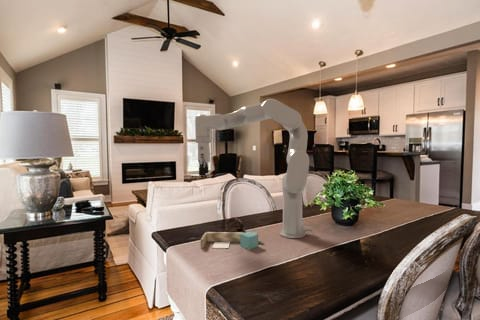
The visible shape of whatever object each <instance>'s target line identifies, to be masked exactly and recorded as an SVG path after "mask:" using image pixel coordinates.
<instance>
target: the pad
mask: <svg viewBox="0 0 480 320" xmlns="http://www.w3.org/2000/svg"><path fill="white" fill-rule="evenodd" d="M230 244H231V242H219V241H214V243H213V245H212V247H211V248H212V249H226V248H228V249H229V247H230Z"/></svg>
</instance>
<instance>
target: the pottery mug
mask: <svg viewBox="0 0 480 320" xmlns="http://www.w3.org/2000/svg"><path fill="white" fill-rule="evenodd" d="M231 222H232V223H231ZM224 226H225V232H228V231H231V230H236V229H235V228H239V229H240V230H242V231H243V232H244V233H246V229H245V225H244V223H243V221H242V220H241V219H240V218H239V217H238V216H234V217H233V216H232V217H231V218H228V220H227V221H226V222H225V224H224Z"/></svg>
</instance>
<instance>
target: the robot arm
mask: <svg viewBox="0 0 480 320" xmlns="http://www.w3.org/2000/svg"><path fill="white" fill-rule="evenodd" d="M194 119H195V120H194V123H195V124H194V125H195V126H194V127H195V129H194V130H195V143H196V144H197V162H198V176H200V177H202V176H204V177H205V176H206V175H207V174H209V163H210V162H211V152H210V151H211V150H210V149H211V147H210V144H211V143H212V130H218V131H223V130H228V129H232V128H235V127H239V126H240V127H241V126H246V125H249V124H253V123H258V122H263V121H266V120H273V121H275V122H277V123H279V124H280V125H282V127H283V128H284V129H285V130H287V132H288V133H289V142H288V149H287V155H286V163H287V168H286V169H287V170H286V172H285V173H284V174H283V177H282V179H281V184H282V185H281V186H282V188H281V189H282V229H280V230H279V235H280V236H282V237H283V238H286V239H301V238H304V237H306V232H308V233H312V232H313V227H309V226H304V225H303V191H304V190H305V188H306V187H307V186H306V185H307V180H308V175H309V171H310V170H309V168H310V157H309V154H308V153H307V147H308V138H309V137H308V136H309V135H308V130H307V127H306V125H305V124H304V122H303V118H302V115H301V113H300V112H298V111H297V110H296V109H294V108H291V107H290V106H288V105H287V104H285V103H282V102H281V101H279V100H277V99H275V98H267V99H266V100H264V101H263V102H258V103H255V104H251V105H246V106H243V107H241V108H239V109H237V110H236V111H233V112H230V113H225V114H220V113H213V114H197V115H195V118H194Z"/></svg>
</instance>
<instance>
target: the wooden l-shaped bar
mask: <svg viewBox="0 0 480 320" xmlns="http://www.w3.org/2000/svg"><path fill="white" fill-rule="evenodd" d="M243 233H245V232H242V231H241V232H239V231H238V232H236V231H235V232H233V231H232V232H231V231H224V232H223V231H217V232H216V231H205V232H204V233H203V235H202V236H201V238H200V249H203V250H204V249H205V247H206V245H207V243H208V242H230V243H231V242H232V243H233V242H234V243H235V242H236V243H240V234H243ZM254 233H255V234H258V235H259V232H254Z"/></svg>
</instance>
